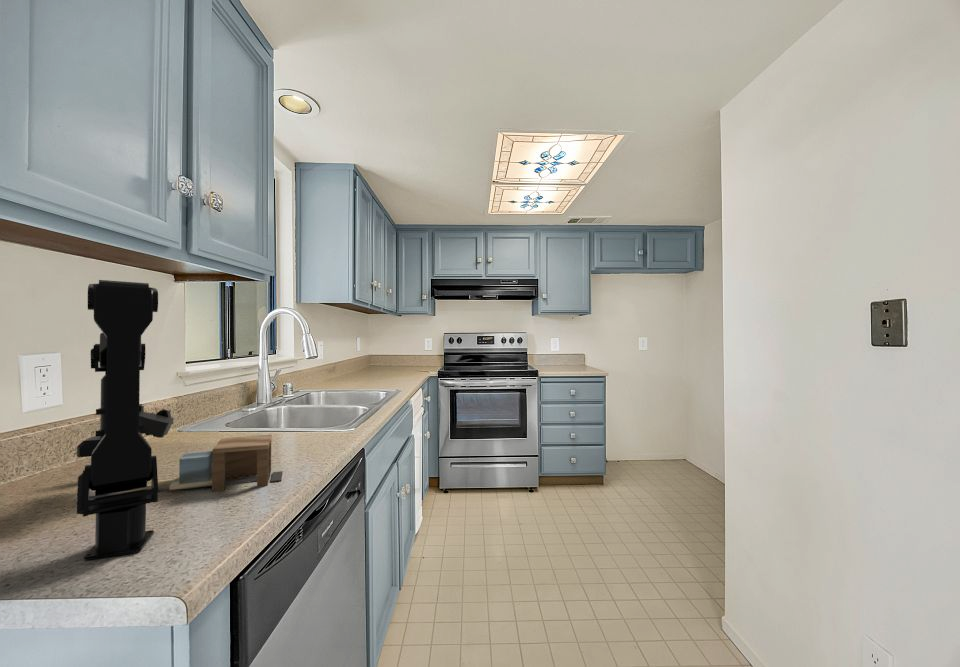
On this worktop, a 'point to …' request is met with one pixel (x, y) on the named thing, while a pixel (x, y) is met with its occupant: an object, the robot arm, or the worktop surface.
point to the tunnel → (241, 459)
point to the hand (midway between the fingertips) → (118, 480)
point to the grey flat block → (276, 476)
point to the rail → (227, 481)
